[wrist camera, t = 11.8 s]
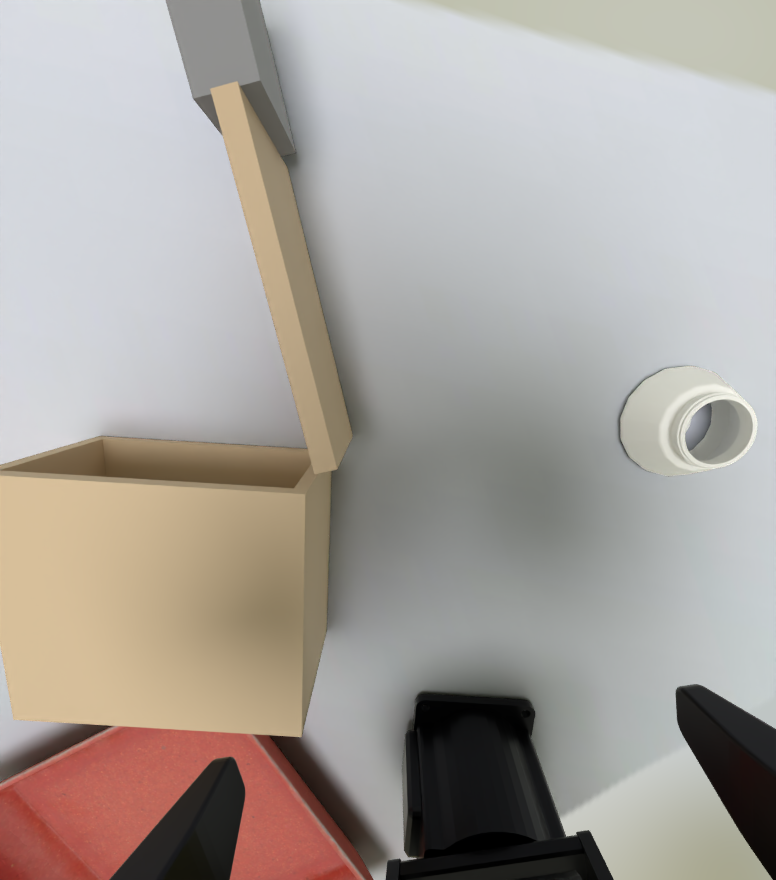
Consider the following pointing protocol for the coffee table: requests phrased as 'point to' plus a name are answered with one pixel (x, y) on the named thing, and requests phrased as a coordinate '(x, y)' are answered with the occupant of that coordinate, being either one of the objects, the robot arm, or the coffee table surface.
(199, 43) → the carton flap
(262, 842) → the plant saucer
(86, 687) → the carton
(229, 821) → the robot arm
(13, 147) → the coffee table surface
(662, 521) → the coffee table surface
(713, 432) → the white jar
